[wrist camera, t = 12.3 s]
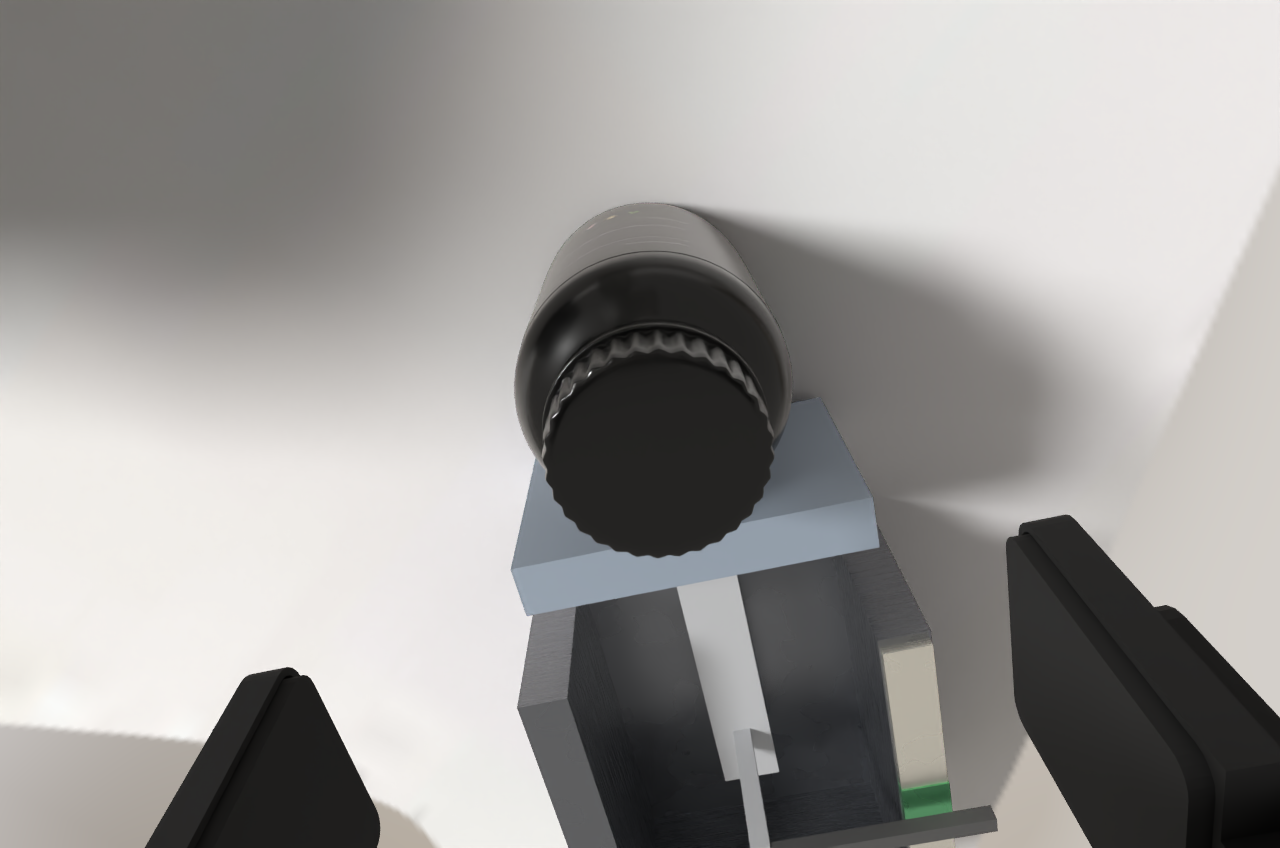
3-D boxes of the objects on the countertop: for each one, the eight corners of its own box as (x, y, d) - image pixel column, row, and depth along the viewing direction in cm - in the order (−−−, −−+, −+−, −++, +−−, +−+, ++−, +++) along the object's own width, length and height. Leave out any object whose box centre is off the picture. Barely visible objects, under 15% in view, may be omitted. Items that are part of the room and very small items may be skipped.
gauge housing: (542, 556, 32) (515, 716, 25) (861, 493, 32) (934, 638, 24) (627, 820, 38) (626, 1016, 30) (900, 773, 37) (969, 963, 30)
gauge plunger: (535, 456, 30) (502, 608, 22) (878, 384, 29) (972, 515, 21) (620, 730, 35) (617, 933, 27) (914, 677, 34) (1001, 871, 26)
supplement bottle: (776, 360, 29) (862, 552, 18) (588, 423, 30) (564, 642, 19) (713, 163, 27) (771, 251, 16) (510, 239, 28) (430, 371, 17)
